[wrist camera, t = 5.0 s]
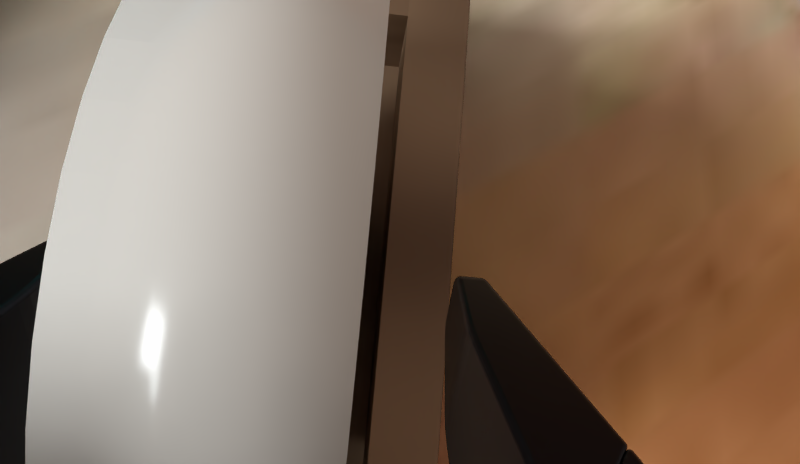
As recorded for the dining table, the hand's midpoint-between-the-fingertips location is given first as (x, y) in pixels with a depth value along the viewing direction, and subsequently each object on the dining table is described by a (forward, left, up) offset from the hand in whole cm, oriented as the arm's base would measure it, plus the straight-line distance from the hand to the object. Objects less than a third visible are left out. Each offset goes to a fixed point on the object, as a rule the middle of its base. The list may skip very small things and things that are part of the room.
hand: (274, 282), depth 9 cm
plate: (0, 0, -1) cm, 1 cm away
